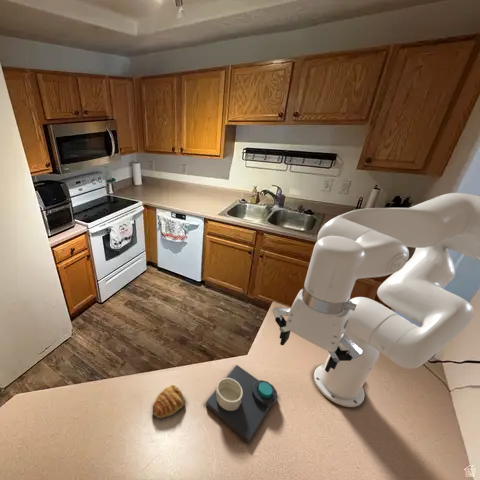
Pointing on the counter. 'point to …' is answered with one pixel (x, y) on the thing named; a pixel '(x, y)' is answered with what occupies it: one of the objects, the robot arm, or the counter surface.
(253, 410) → the dark grey flat block
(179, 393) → the pastry
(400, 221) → the robot arm
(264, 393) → the button
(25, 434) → the counter surface
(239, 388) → the bowl
